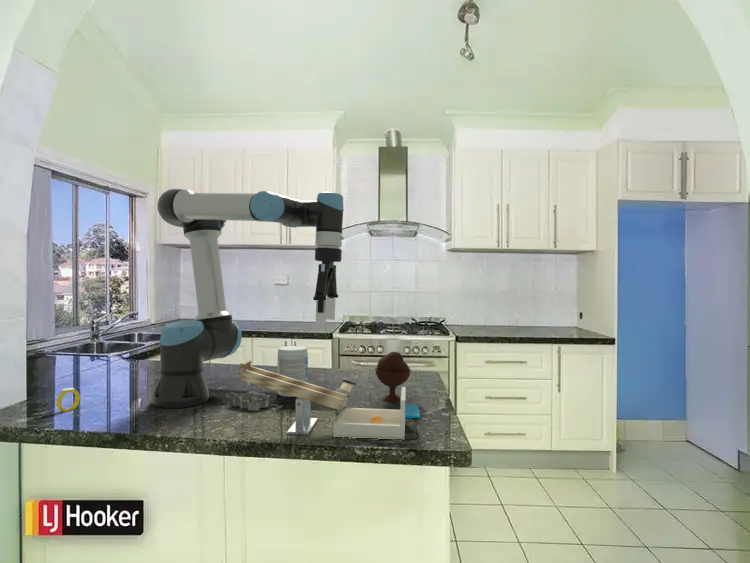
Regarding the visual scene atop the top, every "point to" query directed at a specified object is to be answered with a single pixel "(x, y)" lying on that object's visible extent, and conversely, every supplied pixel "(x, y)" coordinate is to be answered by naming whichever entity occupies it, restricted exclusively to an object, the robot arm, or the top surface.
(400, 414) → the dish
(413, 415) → the sponge
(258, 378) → the beige angled channel
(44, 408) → the top surface
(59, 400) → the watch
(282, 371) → the supplement tub
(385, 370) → the ice cream bowl
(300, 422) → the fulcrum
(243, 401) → the egg carton
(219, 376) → the top surface
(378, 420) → the ball
